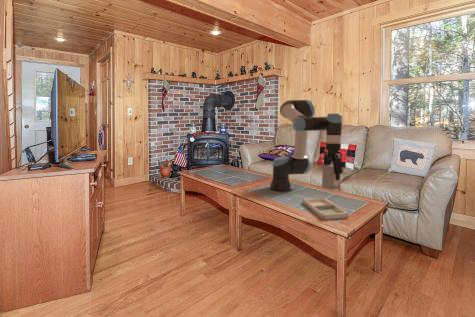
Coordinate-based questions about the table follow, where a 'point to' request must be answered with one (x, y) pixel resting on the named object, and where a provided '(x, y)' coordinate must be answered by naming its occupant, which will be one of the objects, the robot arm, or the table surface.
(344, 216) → the tray
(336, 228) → the table surface
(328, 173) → the white speckled round cylinder
